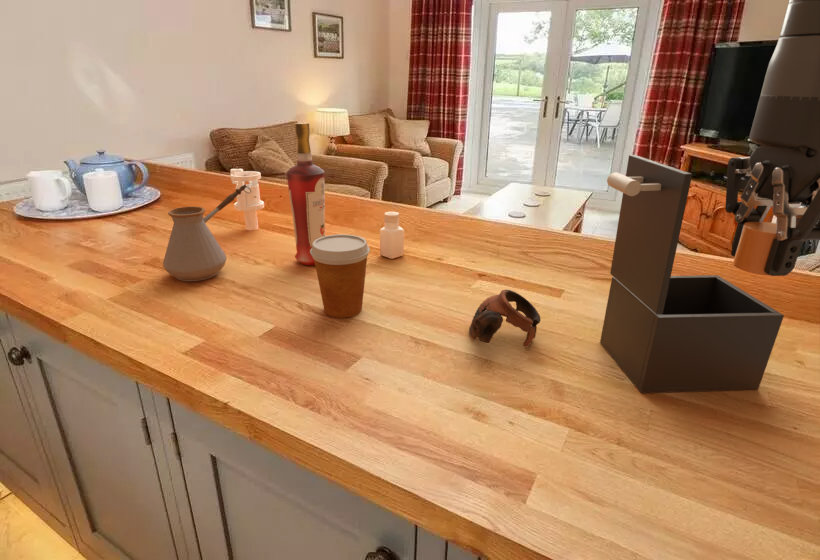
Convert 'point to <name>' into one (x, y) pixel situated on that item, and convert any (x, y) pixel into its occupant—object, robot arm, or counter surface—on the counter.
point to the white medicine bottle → (391, 236)
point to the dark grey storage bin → (691, 336)
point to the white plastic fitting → (248, 196)
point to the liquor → (306, 197)
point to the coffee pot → (194, 243)
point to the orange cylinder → (755, 246)
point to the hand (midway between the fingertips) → (758, 264)
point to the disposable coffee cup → (341, 272)
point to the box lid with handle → (648, 227)
